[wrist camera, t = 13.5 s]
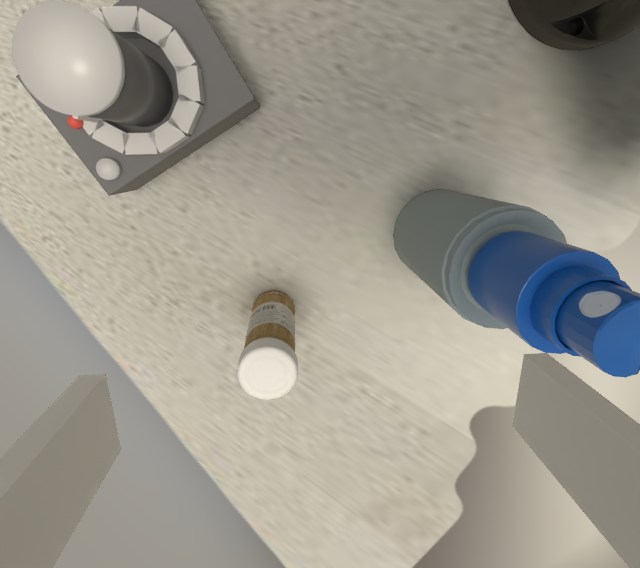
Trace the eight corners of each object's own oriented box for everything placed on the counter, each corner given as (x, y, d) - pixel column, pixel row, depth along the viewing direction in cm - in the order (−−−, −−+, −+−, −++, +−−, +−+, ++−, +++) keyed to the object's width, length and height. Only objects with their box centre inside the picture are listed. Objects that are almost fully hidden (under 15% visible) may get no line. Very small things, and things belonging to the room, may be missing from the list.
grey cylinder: (106, 41, 28) (14, -16, 19) (179, 64, 29) (126, 20, 20) (98, 119, 30) (9, 101, 20) (168, 138, 31) (113, 130, 21)
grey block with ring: (193, -5, 33) (163, -54, 25) (260, 107, 36) (252, 94, 28) (61, 89, 34) (-5, 70, 27) (136, 189, 37) (96, 198, 30)
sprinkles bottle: (255, 330, 43) (240, 404, 30) (250, 291, 41) (232, 351, 29) (297, 326, 43) (300, 399, 30) (293, 287, 41) (295, 345, 29)
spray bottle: (376, 226, 40) (501, 328, 16) (449, 170, 39) (697, 192, 15) (423, 290, 43) (590, 458, 19) (493, 239, 41) (764, 351, 18)
